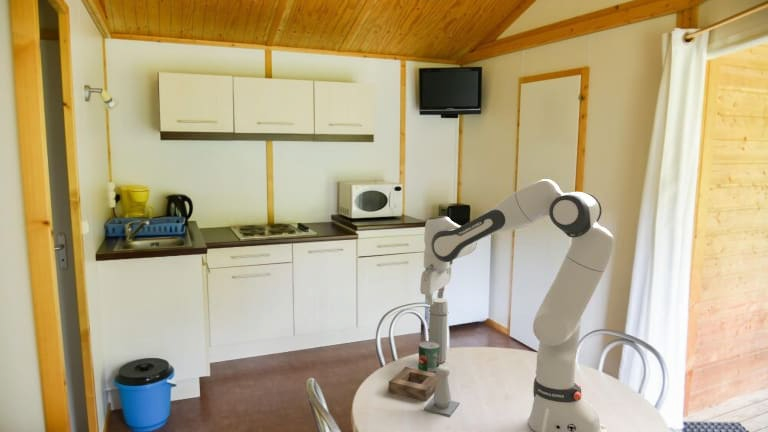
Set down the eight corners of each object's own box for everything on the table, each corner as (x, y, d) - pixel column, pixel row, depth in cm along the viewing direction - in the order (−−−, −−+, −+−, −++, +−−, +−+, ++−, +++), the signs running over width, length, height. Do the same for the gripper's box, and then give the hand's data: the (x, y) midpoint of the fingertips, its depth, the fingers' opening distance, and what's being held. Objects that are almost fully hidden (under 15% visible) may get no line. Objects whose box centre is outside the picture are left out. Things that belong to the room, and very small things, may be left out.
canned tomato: (413, 371, 192) (414, 344, 190) (427, 366, 197) (428, 339, 196) (429, 378, 186) (429, 350, 185) (443, 372, 191) (444, 344, 190)
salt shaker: (450, 410, 161) (451, 371, 160) (432, 408, 162) (433, 370, 161) (451, 402, 167) (452, 364, 165) (434, 400, 168) (435, 362, 167)
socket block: (440, 385, 181) (441, 374, 180) (426, 401, 168) (426, 390, 168) (405, 377, 187) (405, 366, 187) (388, 392, 175) (388, 381, 174)
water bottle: (441, 365, 197) (442, 303, 194) (424, 360, 202) (425, 300, 199) (452, 358, 205) (454, 298, 202) (436, 354, 209) (437, 295, 206)
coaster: (459, 404, 167) (459, 402, 167) (450, 416, 159) (450, 414, 159) (434, 398, 171) (434, 396, 171) (423, 409, 163) (423, 408, 163)
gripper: (433, 269, 164) (432, 310, 166) (454, 258, 182) (453, 295, 184) (416, 266, 167) (415, 307, 168) (438, 256, 185) (437, 293, 187)
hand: (435, 301), depth 176 cm, fingers open, 8 cm apart
